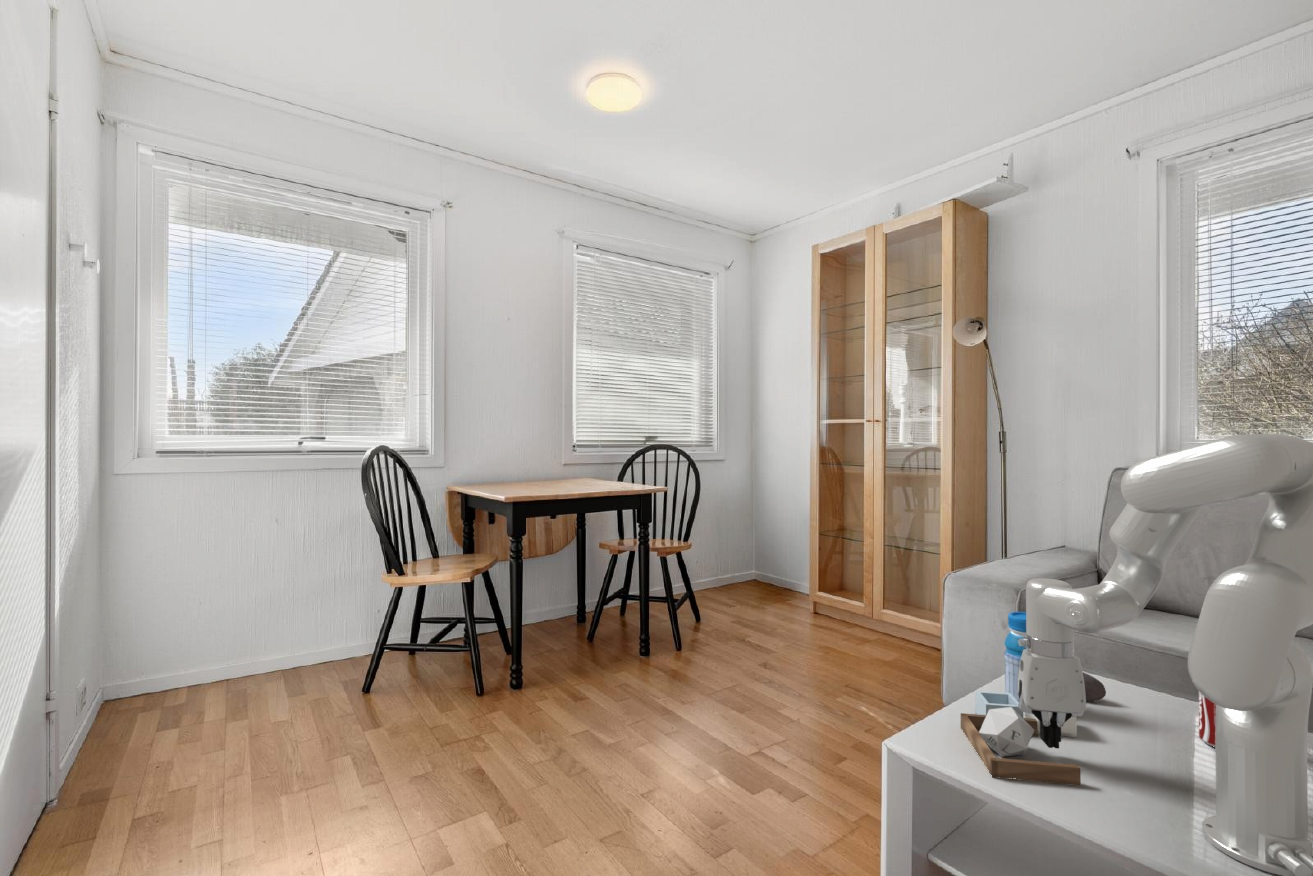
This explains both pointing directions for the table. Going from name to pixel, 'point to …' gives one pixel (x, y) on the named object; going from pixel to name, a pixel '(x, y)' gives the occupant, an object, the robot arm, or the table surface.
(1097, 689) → the perforated stone tool
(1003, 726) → the die
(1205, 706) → the soda can
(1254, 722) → the robot arm
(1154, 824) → the table surface
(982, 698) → the greyblue cup
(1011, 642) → the beverage bottle
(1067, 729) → the offwhite cup
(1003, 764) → the walnut bay
